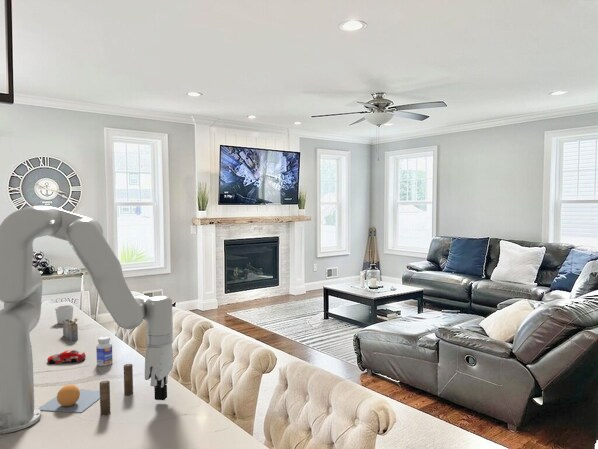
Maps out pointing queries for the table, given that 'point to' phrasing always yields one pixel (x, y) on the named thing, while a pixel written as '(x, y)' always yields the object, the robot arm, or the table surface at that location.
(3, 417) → the robot arm
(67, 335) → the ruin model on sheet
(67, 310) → the cup
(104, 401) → the gate post left
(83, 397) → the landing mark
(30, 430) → the table surface
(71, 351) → the race car
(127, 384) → the gate post right
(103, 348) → the pill bottle
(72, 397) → the ball
